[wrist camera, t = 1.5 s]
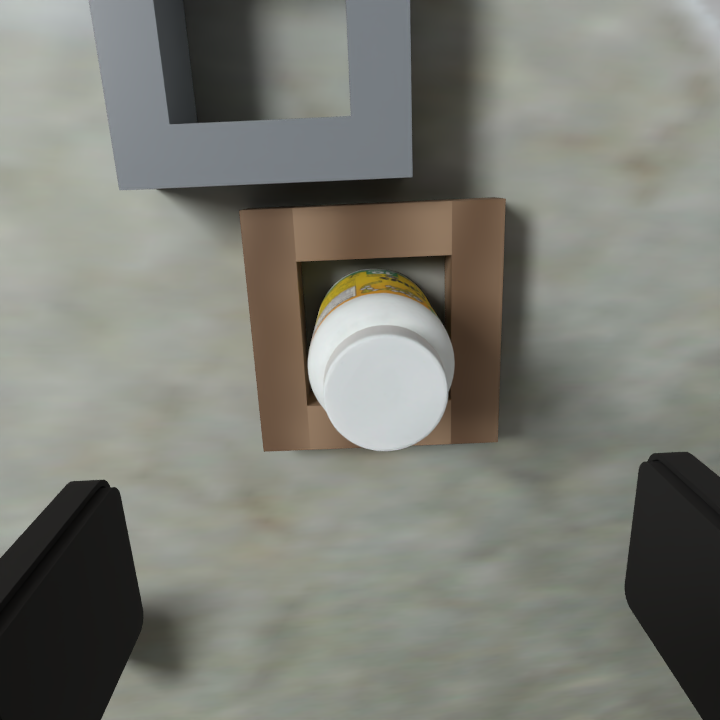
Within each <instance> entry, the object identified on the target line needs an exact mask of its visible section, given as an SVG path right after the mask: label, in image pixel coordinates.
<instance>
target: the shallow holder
mask: <svg viewBox="0 0 720 720" xmlns="http://www.w3.org/2000/svg"><path fill="white" fill-rule="evenodd" d="M505 201H506V199H504V198H495V197H493V198H470V199H448V200H425V201H402V202H380V203H357V204H334V205H312V206H289V207H266V208H247V209H243V210H239V214H240V224H241V234H242V244H243V254H244V263H245V273H246V283H247V293H248V302H249V312H250V322H251V332H252V341H253V351H254V361H255V371H256V381H257V390H258V400H259V410H260V420H261V429H262V439H263V449H264V452H265V451H289V450H314V449H339V448H363V447H360V446H358V445H356V444H354V443H352V442H350V441H349V440H348V439H346V438H345V437H344V436H342V435H341V434H340V433H339V432H338V431H337V429H336V428H335V427H334V426H333V424H332V423H331V421H330V419H329V417H328V415H327V412H326V411H325V410H324V408H323V407H322V406H321V404H320V403H319V402H318V400H317V398H316V396H315V394H314V392H313V391H311V390H310V380H309V375H308V349H307V335H306V321H305V308H304V294H303V280H302V266H301V261H323V260H346V259H369V258H392V257H415V256H438V255H445V329H446V331H447V333H448V336H449V338H450V341H451V344H452V347H453V352H454V361H455V367H454V375H453V380H452V384H451V387H450V389H449V392H448V402H447V405H446V409H445V412H444V414H443V416H442V418H441V420H440V422H439V423H438V425H437V426H436V427H435V428H434V430H433V431H432V432H431V433H430V434H429V435H428V436H426V437H425V438H424V439H422V440H421V441H419V442H418V443H416V444H414V445H437V444H462V443H487V442H498V417H499V386H500V355H501V325H502V294H503V263H504V232H505ZM411 446H413V445H411Z"/></svg>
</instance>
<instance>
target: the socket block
mask: <svg viewBox="0 0 720 720" xmlns="http://www.w3.org/2000/svg"><path fill="white" fill-rule="evenodd" d="M89 5H90V11H91V17H92V24H93V30H94V36H95V42H96V48H97V55H98V61H99V67H100V73H101V79H102V86H103V92H104V98H105V104H106V110H107V117H108V123H109V129H110V135H111V141H112V148H113V154H114V160H115V166H116V172H117V179H118V185H119V190H139V189H165V188H188V187H210V186H233V185H255V184H278V183H300V182H323V181H345V180H367V179H390V178H408V177H413V175H412V105H411V35H410V0H346V15H347V38H348V61H349V84H350V107H351V116H343V117H321V118H299V119H277V120H255V121H233V122H211V123H197V114H196V106H195V98H194V89H193V81H192V72H191V64H190V55H189V47H188V38H187V30H186V21H185V13H184V5H183V0H89Z"/></svg>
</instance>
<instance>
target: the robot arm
mask: <svg viewBox="0 0 720 720" xmlns="http://www.w3.org/2000/svg"><path fill="white" fill-rule="evenodd" d="M625 595H626V599H627V602H628V605H629V607H630V609H631V610H632V612H633V613H634V615H635V616H636V618H637V619H638V621H639V623H640V624H641V626H642V627H643V629H644V630H645V632H646V633H647V635H648V636H649V638H650V639H651V641H652V642H653V644H654V646H655V647H656V649H657V650H658V652H659V653H660V655H661V656H662V658H663V659H664V661H665V662H666V664H667V665H668V667H669V669H670V670H671V672H672V673H673V675H674V676H675V678H676V679H677V681H678V682H679V684H680V685H681V687H682V688H683V690H684V692H685V693H686V695H687V696H688V698H689V699H690V701H691V702H692V704H693V705H694V707H695V708H696V710H697V712H698V713H699V715H700V716H701V718H702V719H703V720H720V477H719V476H718V475H717V474H715V473H714V472H713V471H712V470H710V469H709V468H708V467H707V466H706V465H704V464H703V463H702V462H701V461H699V460H698V459H697V458H696V457H694V456H693V455H692V454H690V453H688V452H671V453H654V454H652V455H651V456H650V458H649V459H648V462H643V463H641V465H640V468H639V473H638V481H637V489H636V497H635V505H634V513H633V522H632V530H631V538H630V546H629V554H628V562H627V570H626V579H625ZM142 624H143V607H142V602H141V597H140V592H139V587H138V582H137V577H136V572H135V566H134V561H133V556H132V551H131V546H130V541H129V536H128V531H127V526H126V521H125V516H124V511H123V505H122V500H121V496H120V492H119V490H118V489H117V488H116V487H112V488H110V485H109V484H108V482H107V481H105V480H89V481H72V482H70V483H68V484H67V485H66V486H65V487H64V488H63V489H62V491H61V492H60V493H59V494H58V495H57V496H56V497H55V498H54V499H53V501H52V502H51V503H50V504H49V505H48V506H47V507H46V508H45V509H44V510H43V512H42V513H41V514H40V515H39V516H38V517H37V518H36V519H35V520H34V522H33V523H32V524H31V525H30V526H29V527H28V528H27V529H26V530H25V531H24V533H23V534H22V535H21V536H20V537H19V538H18V539H17V540H16V541H15V543H14V544H13V545H12V546H11V547H10V548H9V549H8V550H7V551H6V552H5V554H4V555H3V556H2V557H1V558H0V720H101V718H102V716H103V714H104V712H105V709H106V707H107V705H108V703H109V701H110V698H111V696H112V694H113V692H114V689H115V687H116V685H117V683H118V681H119V678H120V676H121V674H122V672H123V670H124V667H125V665H126V663H127V661H128V659H129V656H130V654H131V652H132V650H133V647H134V645H135V643H136V641H137V639H138V636H139V634H140V632H141V628H142Z"/></svg>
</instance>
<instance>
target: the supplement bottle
mask: <svg viewBox="0 0 720 720" xmlns="http://www.w3.org/2000/svg"><path fill="white" fill-rule="evenodd" d="M454 367H455V361H454V352H453V347H452V344H451V341H450V338H449V336H448V333H447V331H446V329H445V328H444V326H443V324H442V323H441V321H440V319H439V318H438V316H437V314H436V313H435V311H434V310H433V308H432V307H431V305H430V303H429V302H428V300H427V298H426V297H425V295H424V293H423V292H422V291H421V290H420V288H419V287H418V286H417V285H416V284H415V283H414V282H413V281H411V280H410V279H409V278H407V277H406V276H404V275H402V274H400V273H397V272H395V271H390V270H385V269H362V270H358V271H355V272H352V273H350V274H348V275H346V276H344V277H343V278H342V279H340V280H339V281H338V282H336V283H335V284H334V285H333V286H332V288H331V289H330V290H329V291H328V293H327V294H326V296H325V298H324V300H323V302H322V304H321V307H320V309H319V312H318V316H317V320H316V325H315V329H314V332H313V336H312V340H311V344H310V349H309V355H308V375H309V380H310V384H311V387H312V390H313V392H314V394H315V396H316V398H317V400H318V402H319V403H320V404H321V406H322V407H323V408H324V410H325V411H326V412H327V415H328V417H329V419H330V421H331V423H332V424H333V426H334V427H335V428H336V429H337V431H338V432H339V433H340V434H341V435H342V436H344V437H345V438H346V439H348V440H349V441H350V442H352V443H354V444H356V445H358V446H360V447H363V448H366V449H370V450H375V451H394V450H400V449H403V448H406V447H409V446H411V445H414V444H416V443H418V442H419V441H421V440H422V439H424V438H425V437H426V436H428V435H429V434H430V433H431V432H432V431H433V430H434V428H435V427H436V426H437V425H438V423H439V422H440V420H441V418H442V416H443V414H444V412H445V409H446V405H447V402H448V392H449V389H450V387H451V384H452V380H453V375H454Z"/></svg>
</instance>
